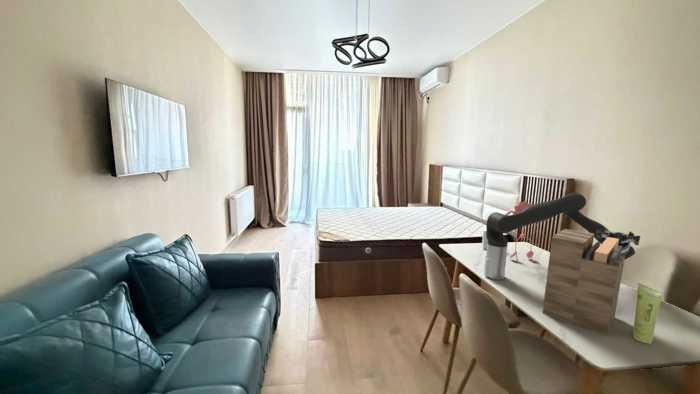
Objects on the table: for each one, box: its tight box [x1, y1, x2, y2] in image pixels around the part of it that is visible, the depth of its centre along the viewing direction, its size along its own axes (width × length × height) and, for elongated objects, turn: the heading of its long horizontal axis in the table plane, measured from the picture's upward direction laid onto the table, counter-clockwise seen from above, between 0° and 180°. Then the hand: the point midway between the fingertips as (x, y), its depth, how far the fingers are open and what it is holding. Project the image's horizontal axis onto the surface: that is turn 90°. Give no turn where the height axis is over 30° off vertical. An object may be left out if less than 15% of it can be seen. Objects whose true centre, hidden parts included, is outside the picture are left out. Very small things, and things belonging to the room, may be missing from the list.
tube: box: [632, 282, 664, 344], centre depth 104 cm, size 6×5×20 cm
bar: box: [594, 237, 619, 264], centre depth 115 cm, size 26×4×4 cm, turn 132°
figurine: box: [504, 201, 549, 263], centre depth 178 cm, size 15×26×35 cm, turn 94°
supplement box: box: [481, 227, 488, 250], centre depth 197 cm, size 7×7×13 cm
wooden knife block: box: [542, 228, 625, 336], centre depth 117 cm, size 18×20×32 cm
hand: (616, 231), depth 127 cm, fingers open, 8 cm apart
